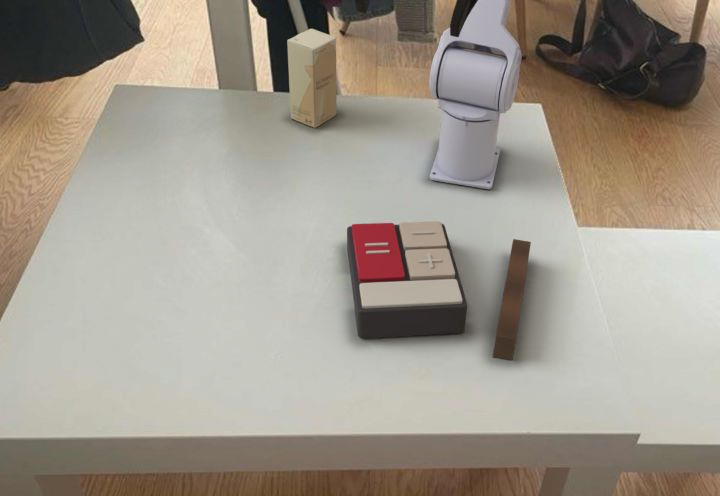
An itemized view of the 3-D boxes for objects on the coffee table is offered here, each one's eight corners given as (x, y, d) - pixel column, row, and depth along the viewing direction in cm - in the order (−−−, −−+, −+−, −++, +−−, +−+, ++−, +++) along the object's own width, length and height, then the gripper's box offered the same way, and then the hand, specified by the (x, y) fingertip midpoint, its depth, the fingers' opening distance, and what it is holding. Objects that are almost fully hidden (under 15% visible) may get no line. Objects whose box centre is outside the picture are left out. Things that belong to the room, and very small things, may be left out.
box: (314, 129, 110) (311, 50, 102) (289, 118, 111) (284, 39, 103) (338, 114, 113) (337, 36, 105) (313, 103, 114) (310, 26, 107)
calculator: (444, 216, 92) (469, 300, 81) (442, 248, 95) (465, 333, 84) (346, 219, 90) (357, 306, 79) (346, 251, 93) (358, 339, 82)
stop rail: (509, 259, 93) (513, 238, 91) (527, 262, 93) (531, 241, 91) (492, 357, 82) (496, 335, 80) (512, 360, 82) (516, 339, 80)
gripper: (356, -203, 61) (309, -28, 61) (544, -155, 61) (498, 21, 60) (367, -145, 68) (325, 13, 68) (536, -102, 68) (494, 56, 67)
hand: (407, 19), depth 65 cm, fingers open, 7 cm apart
